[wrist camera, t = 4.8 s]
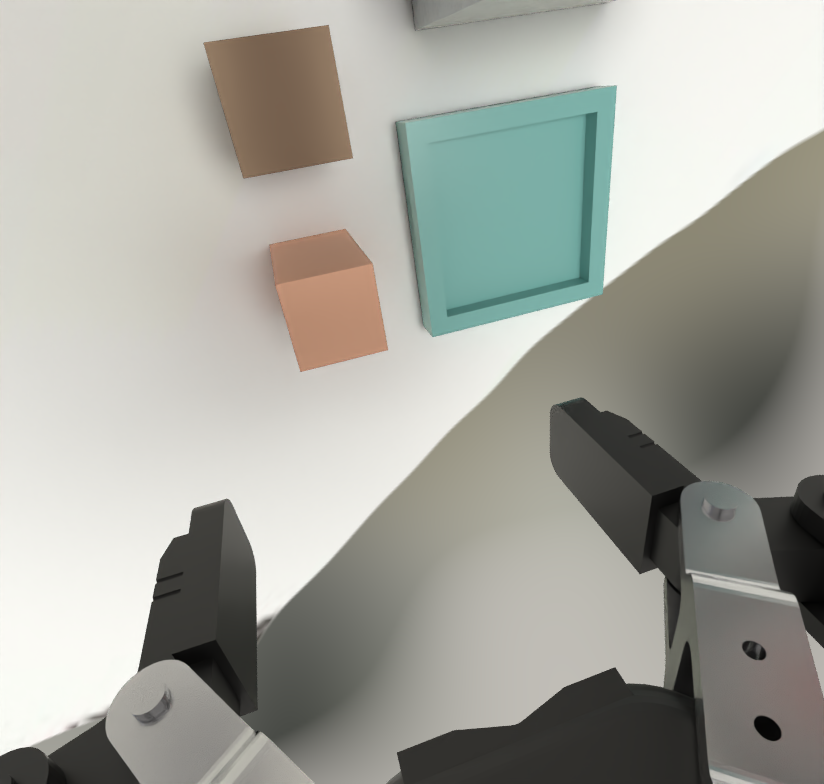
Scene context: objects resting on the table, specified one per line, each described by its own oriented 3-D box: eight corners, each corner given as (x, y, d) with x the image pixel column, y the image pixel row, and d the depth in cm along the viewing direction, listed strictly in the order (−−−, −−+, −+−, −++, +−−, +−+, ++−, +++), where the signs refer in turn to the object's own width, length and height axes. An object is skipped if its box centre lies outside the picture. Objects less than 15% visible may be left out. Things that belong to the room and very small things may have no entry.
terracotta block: (289, 316, 28) (300, 371, 22) (269, 244, 26) (275, 285, 20) (359, 299, 28) (388, 349, 23) (345, 228, 26) (372, 263, 20)
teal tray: (423, 325, 30) (432, 337, 29) (395, 121, 25) (405, 122, 23) (586, 285, 32) (602, 294, 31) (595, 86, 26) (616, 85, 25)
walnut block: (245, 160, 24) (243, 178, 18) (215, 59, 22) (203, 42, 16) (328, 145, 24) (353, 158, 18) (307, 46, 22) (328, 24, 16)
